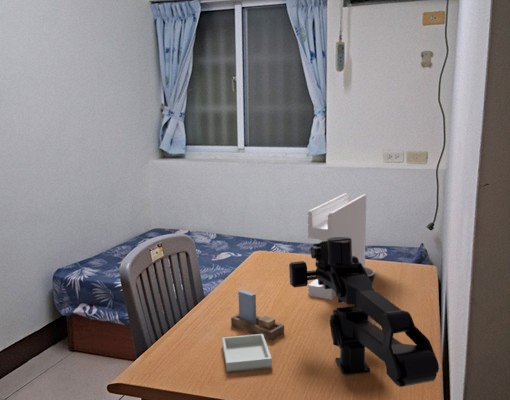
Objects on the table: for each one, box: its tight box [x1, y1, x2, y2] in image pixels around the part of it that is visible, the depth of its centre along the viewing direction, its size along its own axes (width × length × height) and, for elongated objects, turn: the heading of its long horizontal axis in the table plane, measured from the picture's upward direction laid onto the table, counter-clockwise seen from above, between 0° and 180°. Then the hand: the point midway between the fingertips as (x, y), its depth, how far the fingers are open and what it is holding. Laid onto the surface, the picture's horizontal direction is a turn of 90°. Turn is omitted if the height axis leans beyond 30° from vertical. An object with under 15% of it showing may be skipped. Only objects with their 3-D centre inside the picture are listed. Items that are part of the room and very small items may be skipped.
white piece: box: [307, 192, 367, 301], centre depth 164 cm, size 35×8×28 cm, turn 150°
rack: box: [230, 313, 285, 342], centre depth 130 cm, size 15×5×2 cm, turn 49°
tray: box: [221, 334, 273, 374], centre depth 116 cm, size 13×11×2 cm
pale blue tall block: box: [237, 289, 257, 324], centre depth 132 cm, size 5×2×10 cm, turn 49°
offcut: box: [258, 315, 276, 330], centre depth 127 cm, size 4×3×2 cm
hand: (313, 264), depth 132 cm, fingers open, 9 cm apart
